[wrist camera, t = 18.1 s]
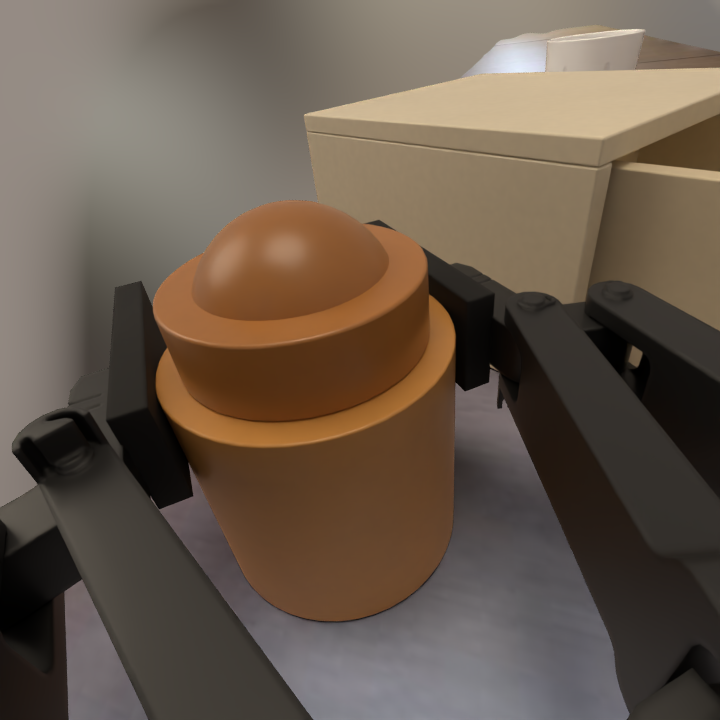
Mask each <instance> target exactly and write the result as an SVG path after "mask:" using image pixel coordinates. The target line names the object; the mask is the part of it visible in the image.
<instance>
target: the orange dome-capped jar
mask: <svg viewBox="0 0 720 720" xmlns="http://www.w3.org/2000/svg"><path fill="white" fill-rule="evenodd" d="M153 314H154V318H155V321H156V323H157V325H158V327H159V330H160V332H161V334H162V337H163V339H164V341H165V343H166V346H167V349H166V350H165V351H164V353H163V355H162V357H161V359H160V361H159V364H158V368H157V371H156V379H155V388H156V394H157V399H158V401H159V403H160V405H161V407H162V409H163V411H164V413H165V415H166V417H167V419H168V421H169V423H170V425H171V427H172V429H173V431H174V433H175V436H176V438H177V440H178V442H179V444H180V446H181V448H182V450H183V452H184V454H185V456H186V458H187V460H188V462H189V464H190V466H191V468H192V470H193V472H194V474H195V476H196V478H197V480H198V482H199V484H200V486H201V488H202V490H203V493H204V495H205V497H206V499H207V501H208V503H209V505H210V507H211V509H212V511H213V513H214V515H215V517H216V519H217V521H218V523H219V525H220V527H221V529H222V531H223V533H224V535H225V537H226V539H227V541H228V543H229V545H230V548H231V550H232V552H233V554H234V556H235V558H236V560H237V562H238V564H239V566H240V568H241V570H242V572H243V574H244V576H245V578H246V579H247V580H248V582H249V583H250V585H251V586H252V587H253V589H254V590H255V591H256V592H257V593H258V594H259V595H261V596H262V597H263V598H264V599H265V600H266V601H268V602H269V603H271V604H272V605H274V606H275V607H277V608H279V609H281V610H283V611H285V612H287V613H289V614H292V615H295V616H299V617H302V618H305V619H311V620H318V621H346V620H354V619H359V618H363V617H367V616H370V615H374V614H376V613H379V612H381V611H383V610H386V609H388V608H390V607H392V606H394V605H396V604H397V603H399V602H401V601H402V600H404V599H406V598H407V597H408V596H409V595H411V594H412V593H413V592H414V591H416V590H417V589H418V588H419V587H420V586H421V585H422V584H423V583H424V582H425V581H426V580H427V579H428V578H429V577H430V576H431V574H432V573H433V572H434V570H435V569H436V567H437V566H438V565H439V563H440V561H441V559H442V557H443V555H444V554H445V552H446V549H447V546H448V544H449V541H450V538H451V533H452V528H453V513H454V442H455V369H456V333H455V328H454V324H453V322H452V320H451V318H450V316H449V314H448V312H447V311H446V310H445V308H444V307H443V306H442V304H440V303H439V302H438V301H437V300H436V299H435V298H434V297H433V296H431V295H430V294H429V285H428V262H427V257H426V255H425V253H424V251H423V249H422V248H421V247H420V246H419V245H418V243H417V242H415V241H414V240H413V239H411V238H410V237H408V236H406V235H404V234H402V233H400V232H397V231H395V230H392V229H388V228H385V227H381V226H375V225H370V224H361V223H360V222H359V221H358V220H356V219H354V218H353V217H351V216H350V215H348V214H346V213H345V212H343V211H340V210H338V209H336V208H333V207H331V206H328V205H324V204H320V203H316V202H312V201H300V200H286V201H278V202H273V203H268V204H265V205H262V206H259V207H257V208H254V209H252V210H249V211H247V212H245V213H243V214H242V215H241V216H239V217H237V218H236V219H234V220H233V221H231V222H230V223H229V224H227V225H226V226H225V227H224V228H223V229H222V230H221V231H220V232H219V233H218V234H217V235H216V236H215V238H214V239H213V240H212V242H211V243H210V244H209V246H208V247H207V248H206V250H205V252H204V253H202V254H200V255H198V256H196V257H195V258H193V259H191V260H190V261H188V262H186V263H185V264H184V265H182V266H181V267H179V268H178V269H177V270H175V271H174V272H173V273H172V274H171V275H170V276H169V277H168V278H167V279H166V280H165V281H164V282H163V283H162V284H161V286H160V287H159V289H158V291H157V292H156V295H155V298H154V301H153Z"/></svg>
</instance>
